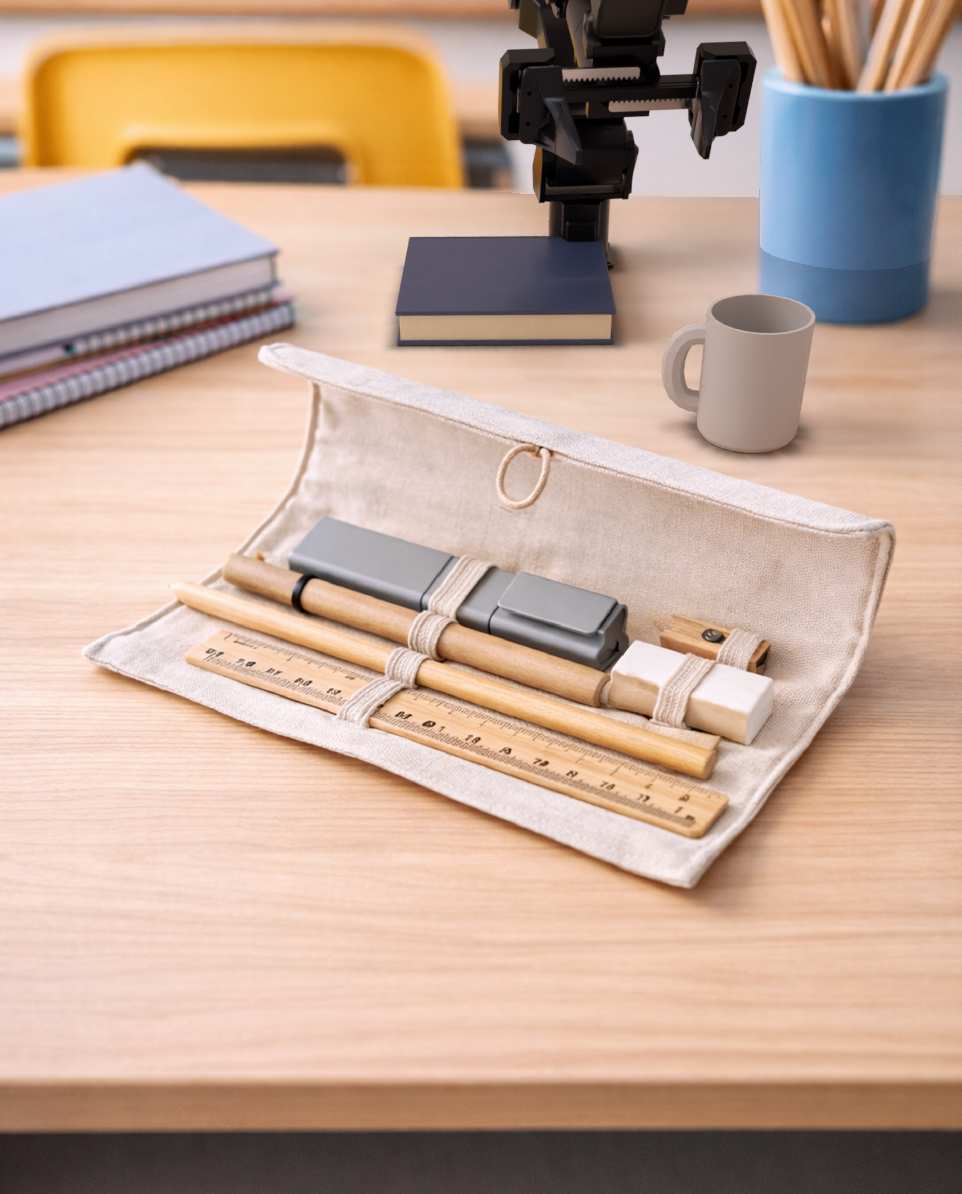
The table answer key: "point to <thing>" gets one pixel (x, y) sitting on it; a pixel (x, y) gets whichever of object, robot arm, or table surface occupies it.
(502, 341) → the book
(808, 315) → the cup
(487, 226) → the table surface
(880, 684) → the table surface
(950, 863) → the table surface
